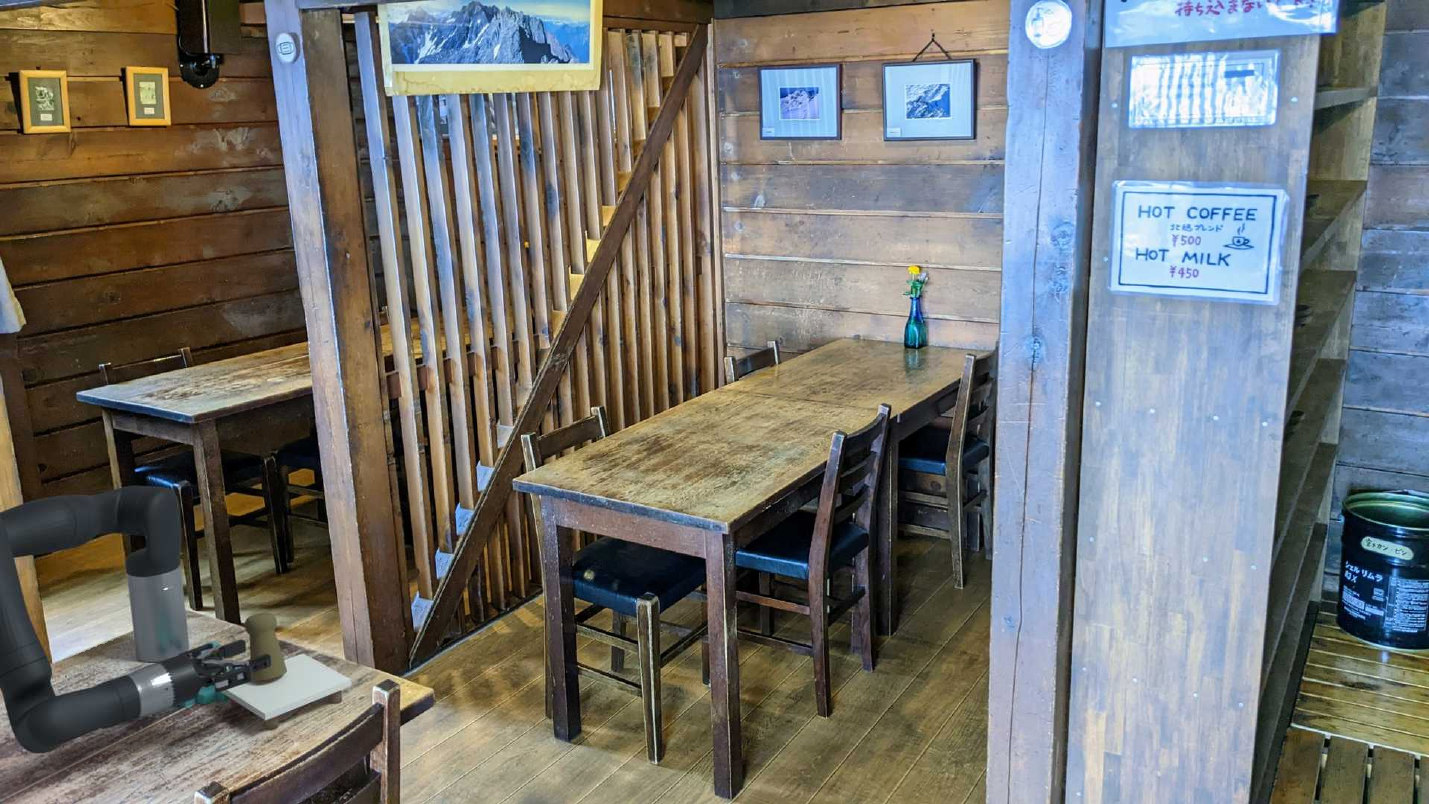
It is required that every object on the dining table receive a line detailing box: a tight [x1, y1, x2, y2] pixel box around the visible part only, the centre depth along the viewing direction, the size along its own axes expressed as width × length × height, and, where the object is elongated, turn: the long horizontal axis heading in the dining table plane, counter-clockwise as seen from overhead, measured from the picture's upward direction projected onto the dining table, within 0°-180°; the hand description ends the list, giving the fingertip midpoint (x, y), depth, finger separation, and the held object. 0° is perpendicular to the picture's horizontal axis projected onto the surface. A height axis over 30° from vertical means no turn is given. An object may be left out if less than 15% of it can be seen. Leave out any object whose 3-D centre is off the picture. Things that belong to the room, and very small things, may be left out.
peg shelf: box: [222, 653, 352, 731], centre depth 194 cm, size 16×16×4 cm
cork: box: [244, 611, 287, 681], centre depth 194 cm, size 6×6×11 cm
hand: (257, 652), depth 189 cm, fingers open, 8 cm apart
